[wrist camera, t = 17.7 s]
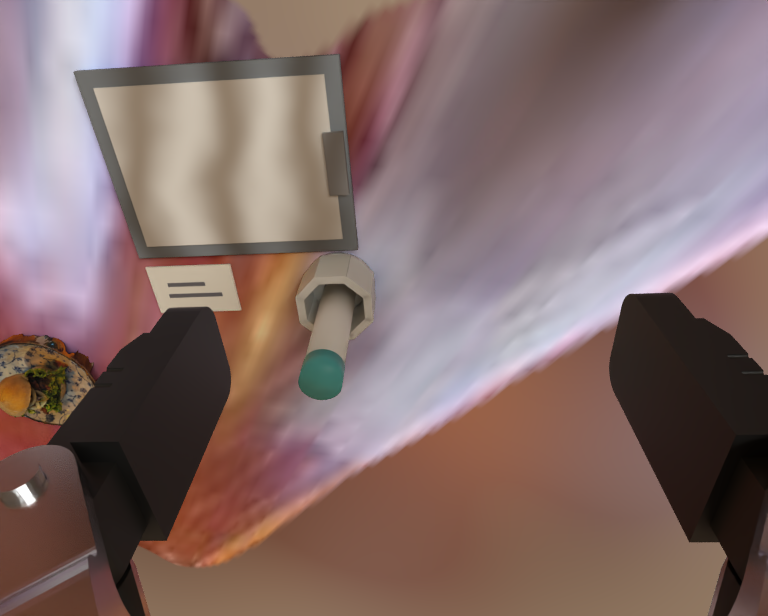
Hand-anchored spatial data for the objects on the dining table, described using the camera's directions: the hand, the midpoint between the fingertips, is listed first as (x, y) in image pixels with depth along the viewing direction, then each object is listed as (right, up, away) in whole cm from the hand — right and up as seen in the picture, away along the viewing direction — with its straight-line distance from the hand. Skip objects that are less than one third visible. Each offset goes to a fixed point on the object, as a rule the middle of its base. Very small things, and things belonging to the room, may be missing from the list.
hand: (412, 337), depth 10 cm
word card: (-19, +2, +39) cm, 43 cm away
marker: (-5, +3, +37) cm, 38 cm away
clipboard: (-13, +12, +32) cm, 37 cm away
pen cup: (-5, +3, +38) cm, 38 cm away
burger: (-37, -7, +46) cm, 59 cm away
